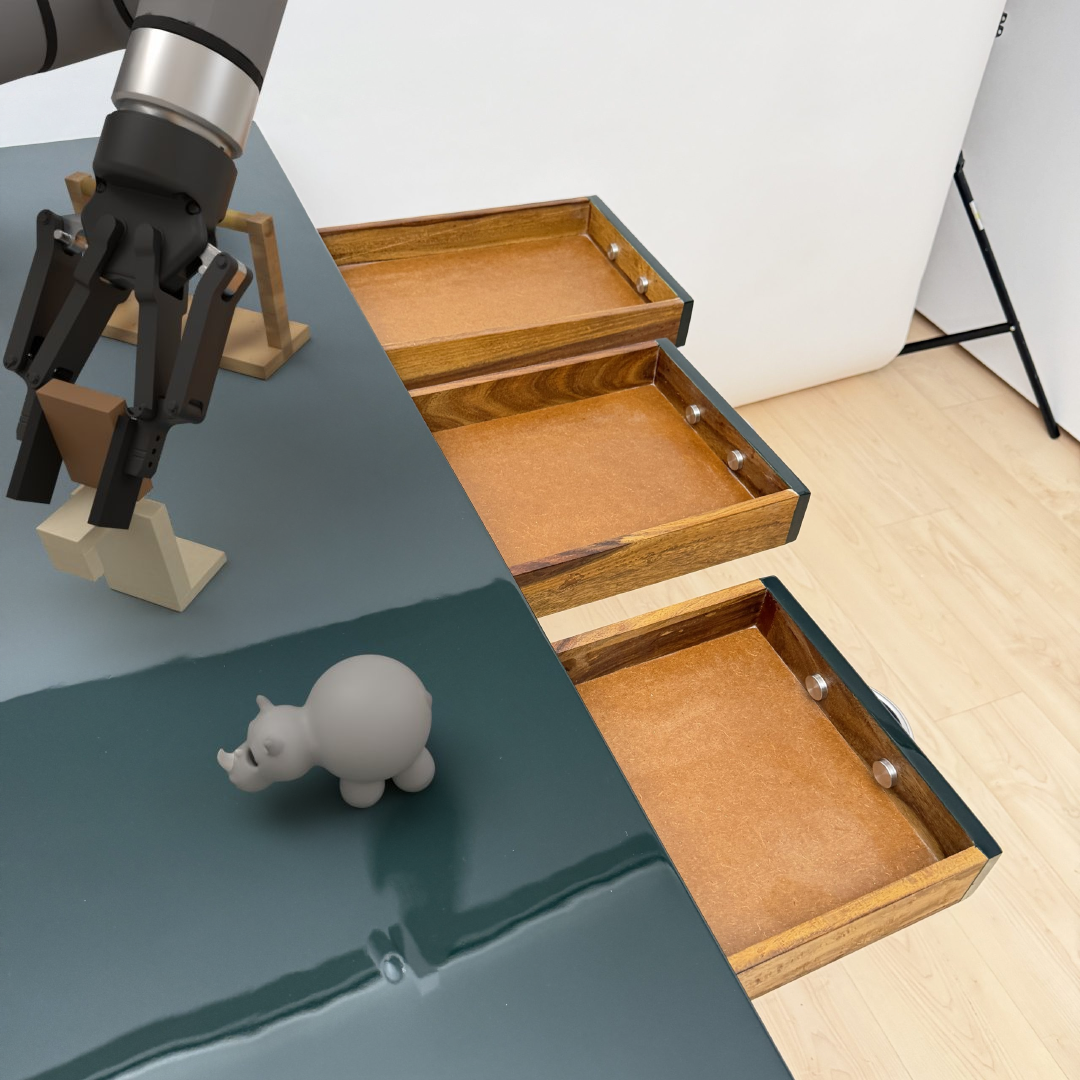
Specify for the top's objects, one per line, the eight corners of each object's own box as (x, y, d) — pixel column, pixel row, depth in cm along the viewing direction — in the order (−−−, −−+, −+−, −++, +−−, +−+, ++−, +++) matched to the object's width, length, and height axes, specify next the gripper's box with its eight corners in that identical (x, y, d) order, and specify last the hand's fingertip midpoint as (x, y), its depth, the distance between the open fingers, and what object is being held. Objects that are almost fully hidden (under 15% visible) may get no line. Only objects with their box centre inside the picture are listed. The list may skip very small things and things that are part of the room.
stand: (85, 331, 87) (38, 191, 77) (138, 294, 92) (100, 158, 83) (266, 380, 83) (240, 238, 73) (310, 338, 88) (291, 201, 79)
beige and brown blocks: (67, 631, 61) (-30, 430, 49) (158, 538, 67) (92, 342, 55) (142, 657, 59) (62, 458, 48) (227, 561, 66) (175, 365, 54)
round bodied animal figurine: (227, 750, 55) (198, 664, 49) (418, 703, 58) (413, 616, 52) (240, 857, 50) (209, 776, 44) (448, 798, 53) (446, 715, 47)
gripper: (338, 194, 55) (233, 557, 55) (92, 140, 59) (-6, 481, 59) (279, 134, 48) (158, 553, 48) (2, 76, 51) (-110, 466, 51)
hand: (68, 512), depth 53 cm, fingers closed on beige and brown blocks, 5 cm apart
